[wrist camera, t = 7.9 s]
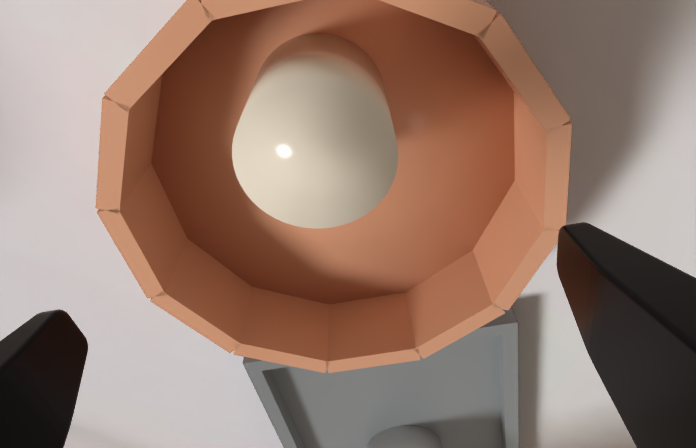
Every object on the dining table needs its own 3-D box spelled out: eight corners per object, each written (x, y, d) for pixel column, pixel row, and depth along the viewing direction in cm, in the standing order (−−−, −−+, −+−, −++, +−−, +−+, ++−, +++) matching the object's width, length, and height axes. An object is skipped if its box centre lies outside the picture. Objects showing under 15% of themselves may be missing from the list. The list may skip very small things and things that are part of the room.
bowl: (526, 272, 22) (558, 339, 19) (220, 320, 24) (202, 391, 21) (528, -103, 14) (585, -98, 11) (65, 4, 16) (-7, 37, 12)
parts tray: (512, 463, 31) (518, 486, 30) (315, 487, 33) (314, 510, 32) (509, 300, 23) (517, 322, 22) (247, 340, 25) (242, 363, 23)
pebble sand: (393, 146, 18) (408, 213, 14) (275, 169, 18) (260, 240, 15) (372, 19, 15) (384, 62, 12) (236, 49, 16) (206, 99, 12)
